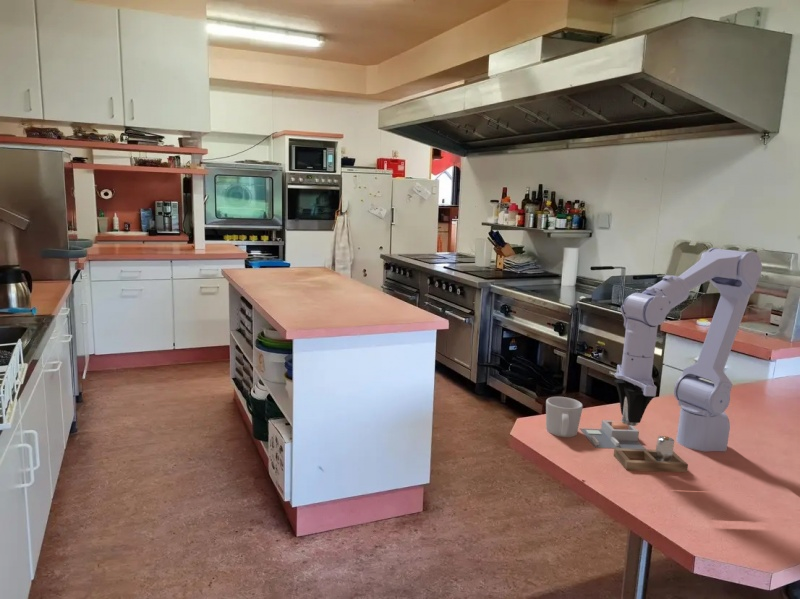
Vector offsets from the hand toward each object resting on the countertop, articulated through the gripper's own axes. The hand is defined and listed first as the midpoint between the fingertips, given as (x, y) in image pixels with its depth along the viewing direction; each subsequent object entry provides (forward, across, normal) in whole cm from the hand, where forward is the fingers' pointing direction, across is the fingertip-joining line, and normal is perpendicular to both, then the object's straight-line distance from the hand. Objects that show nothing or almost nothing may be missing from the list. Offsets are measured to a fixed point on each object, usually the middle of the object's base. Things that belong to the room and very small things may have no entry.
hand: (630, 418), depth 117 cm
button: (+8, -11, +3) cm, 14 cm away
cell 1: (+1, 0, 0) cm, 1 cm away
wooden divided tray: (+9, +3, +4) cm, 10 cm away
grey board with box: (+9, -9, 0) cm, 13 cm away
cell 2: (+8, +3, +6) cm, 11 cm away
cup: (+10, -11, -10) cm, 18 cm away
